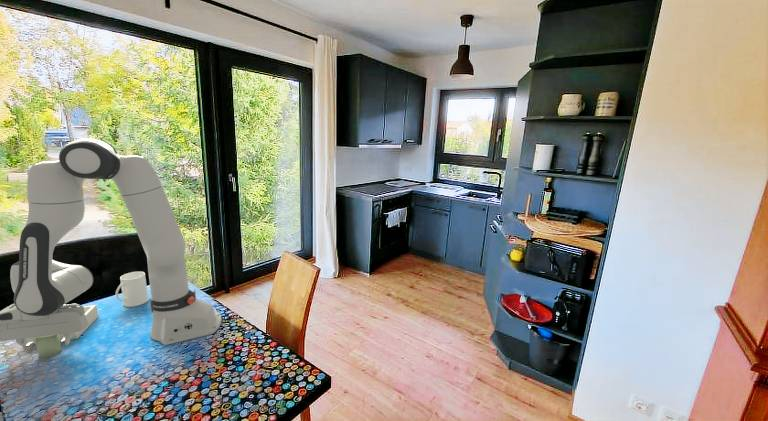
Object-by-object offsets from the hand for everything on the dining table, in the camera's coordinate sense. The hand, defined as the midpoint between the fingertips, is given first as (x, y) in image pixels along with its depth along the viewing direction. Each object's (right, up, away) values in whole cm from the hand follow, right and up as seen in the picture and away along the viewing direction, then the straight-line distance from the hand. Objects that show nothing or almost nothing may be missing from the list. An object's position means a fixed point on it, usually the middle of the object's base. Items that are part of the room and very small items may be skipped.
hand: (47, 346), depth 98 cm
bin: (-7, +1, +12) cm, 14 cm away
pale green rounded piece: (0, -2, +1) cm, 3 cm away
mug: (+2, +4, +31) cm, 31 cm away
